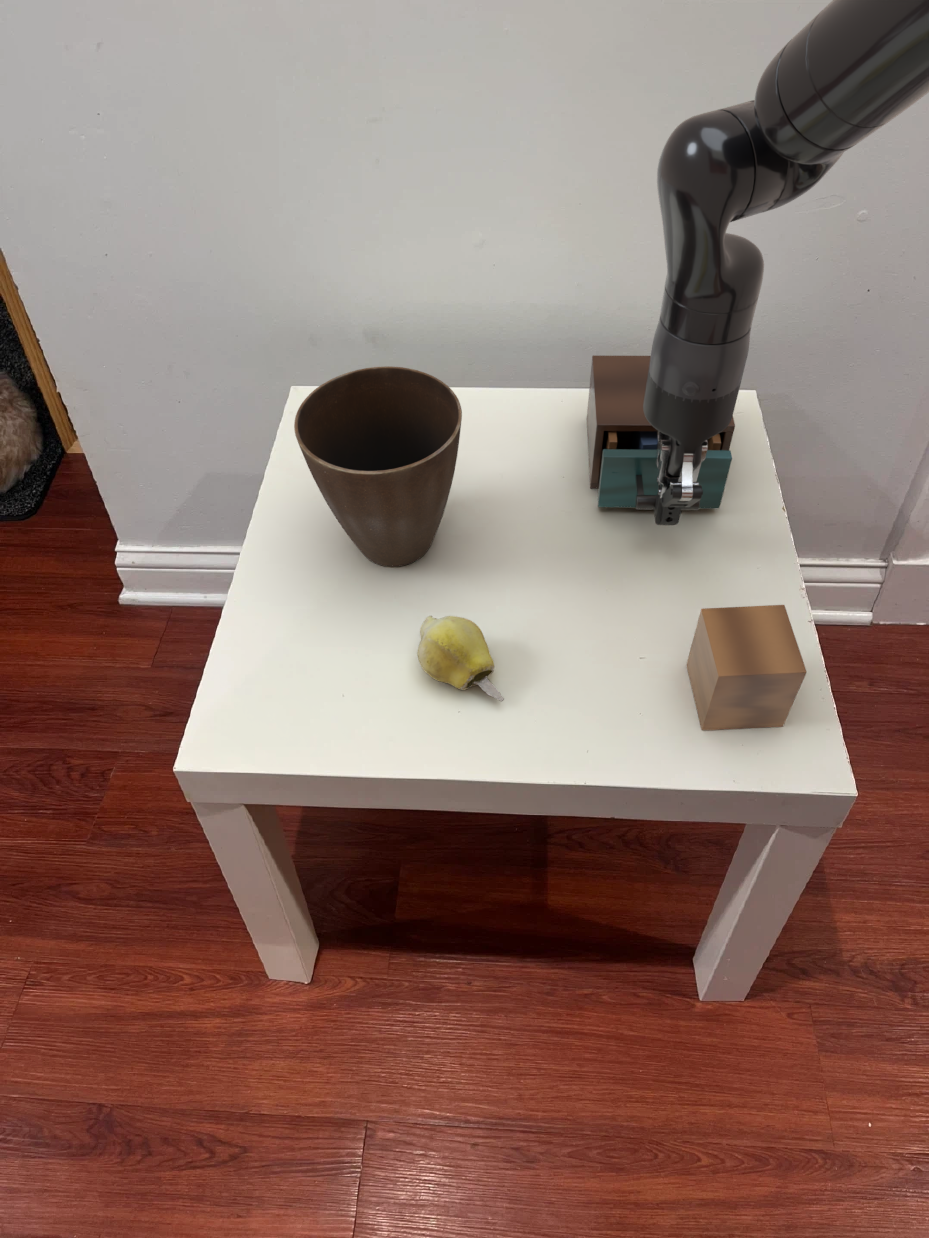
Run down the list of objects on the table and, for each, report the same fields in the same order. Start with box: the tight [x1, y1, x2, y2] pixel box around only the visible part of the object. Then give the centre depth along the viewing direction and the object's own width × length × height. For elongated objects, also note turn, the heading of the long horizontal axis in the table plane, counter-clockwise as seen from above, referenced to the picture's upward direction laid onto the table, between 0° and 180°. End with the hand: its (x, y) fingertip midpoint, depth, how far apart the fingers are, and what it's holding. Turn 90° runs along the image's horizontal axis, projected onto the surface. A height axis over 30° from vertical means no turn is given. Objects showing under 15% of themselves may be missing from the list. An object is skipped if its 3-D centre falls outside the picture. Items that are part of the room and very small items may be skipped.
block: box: [631, 431, 658, 450], centre depth 96 cm, size 5×5×5 cm
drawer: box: [596, 431, 733, 511], centre depth 94 cm, size 15×12×7 cm
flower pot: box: [293, 365, 463, 568], centre depth 88 cm, size 15×15×16 cm
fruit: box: [416, 615, 505, 702], centre depth 82 cm, size 6×6×10 cm
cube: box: [686, 604, 807, 731], centre depth 78 cm, size 7×7×8 cm
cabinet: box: [586, 354, 736, 490], centre depth 98 cm, size 12×14×9 cm
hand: (665, 519), depth 89 cm, fingers closed
